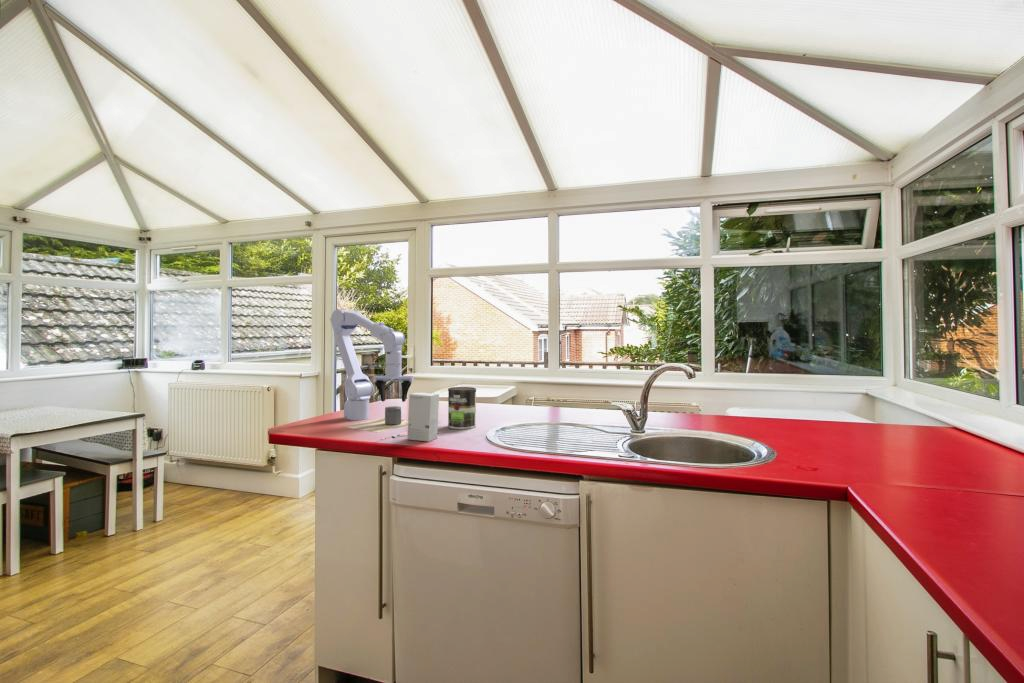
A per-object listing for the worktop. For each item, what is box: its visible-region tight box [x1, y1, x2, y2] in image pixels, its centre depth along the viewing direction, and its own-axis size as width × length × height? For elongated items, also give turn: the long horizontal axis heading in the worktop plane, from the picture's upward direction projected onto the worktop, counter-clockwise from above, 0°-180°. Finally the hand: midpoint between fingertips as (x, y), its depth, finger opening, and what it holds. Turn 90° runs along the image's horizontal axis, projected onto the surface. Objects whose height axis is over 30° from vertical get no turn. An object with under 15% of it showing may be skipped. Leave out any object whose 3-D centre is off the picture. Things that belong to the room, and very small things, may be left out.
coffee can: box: [447, 386, 477, 430], centre depth 174 cm, size 10×10×14 cm
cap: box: [384, 405, 402, 424], centre depth 171 cm, size 6×6×6 cm
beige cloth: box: [341, 417, 408, 433], centre depth 170 cm, size 18×21×2 cm
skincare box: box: [407, 392, 440, 442], centre depth 154 cm, size 8×6×15 cm
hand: (393, 401), depth 174 cm, fingers open, 7 cm apart
